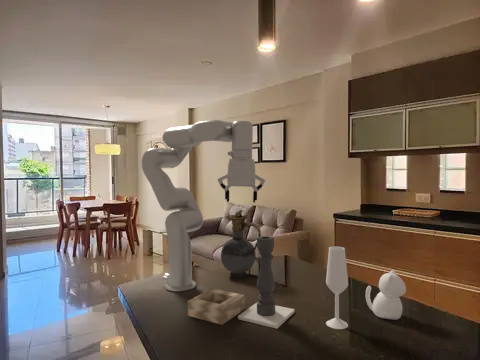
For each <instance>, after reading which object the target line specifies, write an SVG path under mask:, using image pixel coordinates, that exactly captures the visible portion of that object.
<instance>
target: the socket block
mask: <svg viewBox="0 0 480 360" xmlns="http://www.w3.org/2000/svg"><path fill="white" fill-rule="evenodd" d="M245 301H246V295H245V294H241V293H237V292H231V291H227V290H221V289H218V288H210V289H208V290H206V291H203V292H202V293H200V294H197V296H194V297H192V298H191V299H188V300H187V316H189V317H191V318H194V319H195V318H196V319H199V320H203V321H206V322H211V323H214V324H219V325H222V326H223V325H225V324H226V323H228V322H229V321H231V320H232V319H233V318H235V317H236V316H238V315H240V314H241V313H243V312H244V311H245V310H246V304H245V303H246V302H245Z"/></svg>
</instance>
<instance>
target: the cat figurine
mask: <svg viewBox="0 0 480 360" xmlns="http://www.w3.org/2000/svg"><path fill="white" fill-rule="evenodd" d="M378 289H379V292H378V293H377V294H376V295H375V297H374V299H373V302H372V301H371V291H372V286H371V285H368V286H367V287H366V289H365V295H364V296H365V301H366V304H367V306H368V308H369V310H371V311H372V312H373V314H374V315H375V316H376V317H378V318H381V319H387V320H394V321H396V320H399V319H400V318H402V315H403V302H402V300H401V298H400V297H402V296H403V295H404V294H405V293H406V292H407V287H406V284H405V282H404V280H403V279H402V278H401V277H400V276H399V275H397V272H396V270H395V269H392V270H391V271H390V272H387V273H386V272H385V273H384V274H382V275H381V276H380V278H379V281H378Z"/></svg>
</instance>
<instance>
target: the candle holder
mask: <svg viewBox="0 0 480 360" xmlns="http://www.w3.org/2000/svg"><path fill="white" fill-rule="evenodd" d="M256 243H257V247H256V249H257V251H258V253H259V254H258V255H257V259H258V261H259V271H258V276H257V281H256V288H257V290H258V291H259V292H258V293H259V295H258V296H257V301H256V303H257V314H258V315H261V316H272V315H274V314H275V305H276V301H275V296H274V295H273V294H274V293H273V291H274V290H275V287H276V282H275V279H274V274H273V271H272V261H273V259H274V255H273V254H272V253H273V251H274V249H275V237H273V236H271V235H270V236H269V235H267V236H266V235H265V236H263V235H261V237H258V236H257V237H256Z"/></svg>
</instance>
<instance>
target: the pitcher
mask: <svg viewBox="0 0 480 360" xmlns="http://www.w3.org/2000/svg"><path fill="white" fill-rule="evenodd" d="M243 212H244V210H243V209H240V210H239V211H235V213H234V214H230V215H226V216H225V218H229V219H230V220H231V224H232V227H231V230H232V238H231V239H229V240H228V241H226V242H225V243H224V245H223V246H222V249H221V252H220V260H221V263H222V265H223V267H224V268H225V269H226V271H229V272H230V273H229V276H230V277H232V278H238V279H239V278H241V279H242V278H245V277H247V275H248V273H247V272H248V271H249V270H251V268H252V267H253V266H254V263H255V262H256V263H257V264H259V265H260V261H259V259H258V257H257V256H256V255H257V254H256V250H257V242H256V243H255V246H254V245H253V243H252V242H250V241H249V240H247V239H246V238H245V237H244V230H245V228H249V227H253V228H255V229H256V230H257V237H261V236H262V232H261V228H260V226H259V225H258V224H257V223H255V222H249V223H247V222H246V221H245V220H246V219H247V218H248V216H249V214H244V215H242V213H243Z"/></svg>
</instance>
